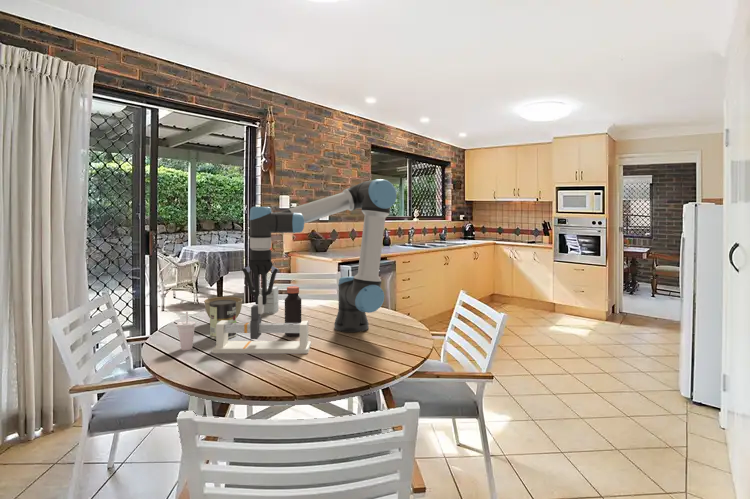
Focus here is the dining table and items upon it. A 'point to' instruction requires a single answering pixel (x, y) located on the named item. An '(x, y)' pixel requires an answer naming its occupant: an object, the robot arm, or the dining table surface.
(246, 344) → the slider rail stand
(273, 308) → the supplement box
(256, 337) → the dark grey tall block
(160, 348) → the dining table surface
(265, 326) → the pipe
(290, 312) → the bottle
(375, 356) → the dining table surface
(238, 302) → the planter bowl
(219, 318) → the coffee can
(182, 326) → the smoothie
